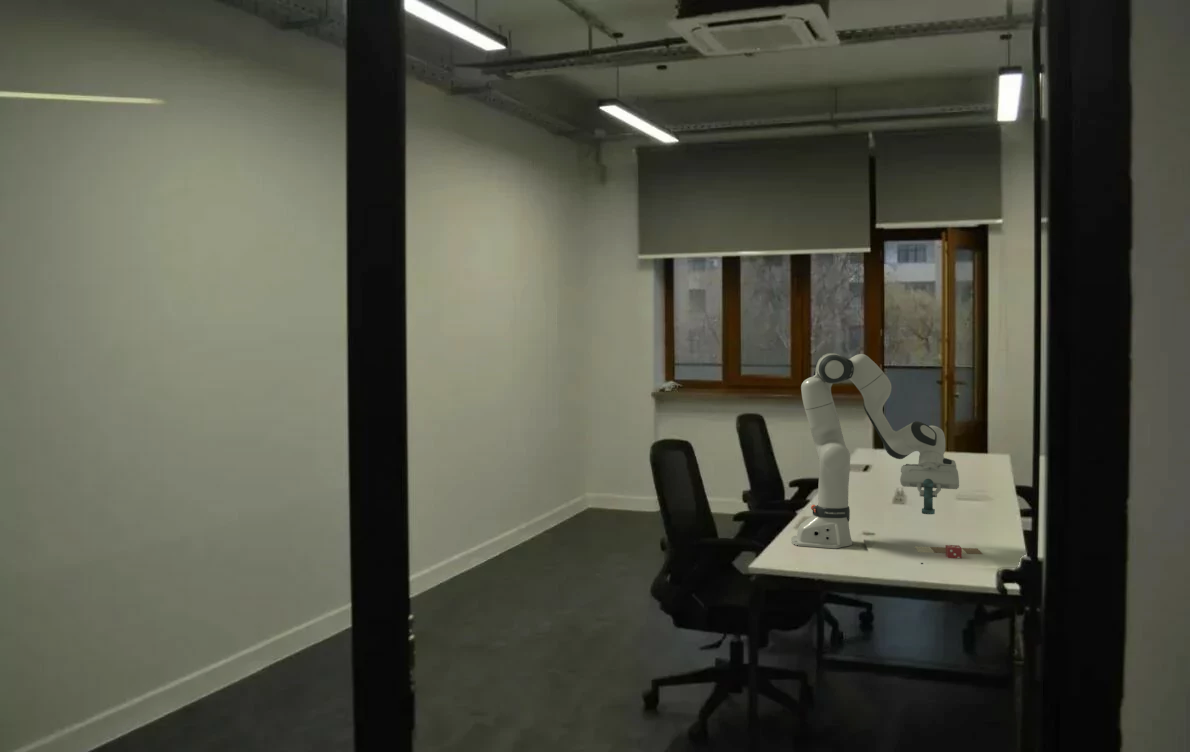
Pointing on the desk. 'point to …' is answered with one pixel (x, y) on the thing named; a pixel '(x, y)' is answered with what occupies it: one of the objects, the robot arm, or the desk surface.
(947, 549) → the die
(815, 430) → the robot arm
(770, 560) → the desk surface
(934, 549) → the board
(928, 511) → the pawn
